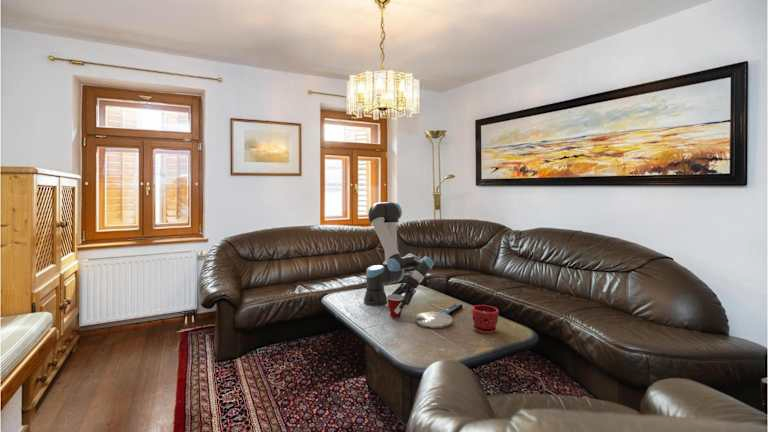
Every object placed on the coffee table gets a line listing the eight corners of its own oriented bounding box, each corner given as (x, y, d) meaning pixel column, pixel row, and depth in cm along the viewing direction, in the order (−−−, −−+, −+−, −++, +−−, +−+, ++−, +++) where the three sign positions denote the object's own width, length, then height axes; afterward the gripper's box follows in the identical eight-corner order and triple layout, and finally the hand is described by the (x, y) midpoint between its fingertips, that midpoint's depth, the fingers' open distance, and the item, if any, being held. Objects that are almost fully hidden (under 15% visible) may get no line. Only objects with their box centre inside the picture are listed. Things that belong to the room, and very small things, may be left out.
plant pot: (494, 337, 184) (494, 314, 183) (468, 332, 191) (468, 309, 190) (501, 328, 195) (501, 306, 194) (476, 324, 202) (476, 302, 201)
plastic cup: (404, 320, 208) (403, 299, 207) (385, 319, 210) (384, 298, 209) (406, 313, 219) (406, 294, 218) (388, 312, 221) (388, 293, 220)
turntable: (409, 318, 209) (409, 315, 209) (438, 312, 218) (438, 309, 218) (428, 330, 191) (428, 327, 191) (459, 323, 200) (459, 320, 200)
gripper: (429, 288, 210) (405, 319, 204) (408, 279, 230) (386, 308, 224) (421, 280, 207) (396, 312, 201) (401, 271, 227) (378, 300, 221)
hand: (391, 309), depth 213 cm, fingers closed on plastic cup, 10 cm apart
